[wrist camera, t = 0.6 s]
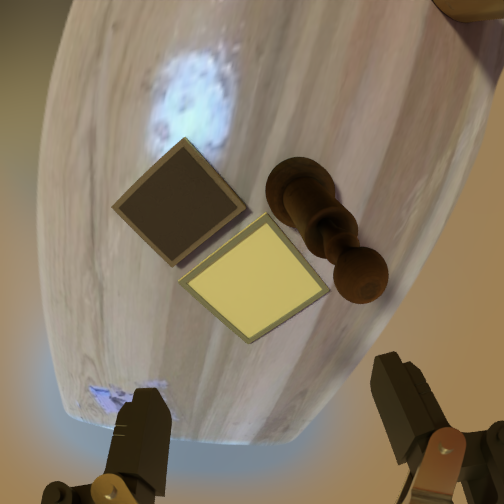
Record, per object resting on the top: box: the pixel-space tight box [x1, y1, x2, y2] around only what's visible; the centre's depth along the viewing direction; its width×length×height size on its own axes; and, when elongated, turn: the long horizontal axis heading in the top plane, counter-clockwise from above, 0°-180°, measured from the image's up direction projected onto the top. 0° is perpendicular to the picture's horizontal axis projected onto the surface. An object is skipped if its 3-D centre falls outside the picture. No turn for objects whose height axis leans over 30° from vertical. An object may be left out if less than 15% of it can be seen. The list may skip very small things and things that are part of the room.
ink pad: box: [112, 137, 246, 267], centre depth 30 cm, size 10×9×1 cm
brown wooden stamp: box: [265, 157, 389, 304], centre depth 23 cm, size 7×6×18 cm
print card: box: [178, 212, 330, 344], centre depth 36 cm, size 12×12×1 cm
